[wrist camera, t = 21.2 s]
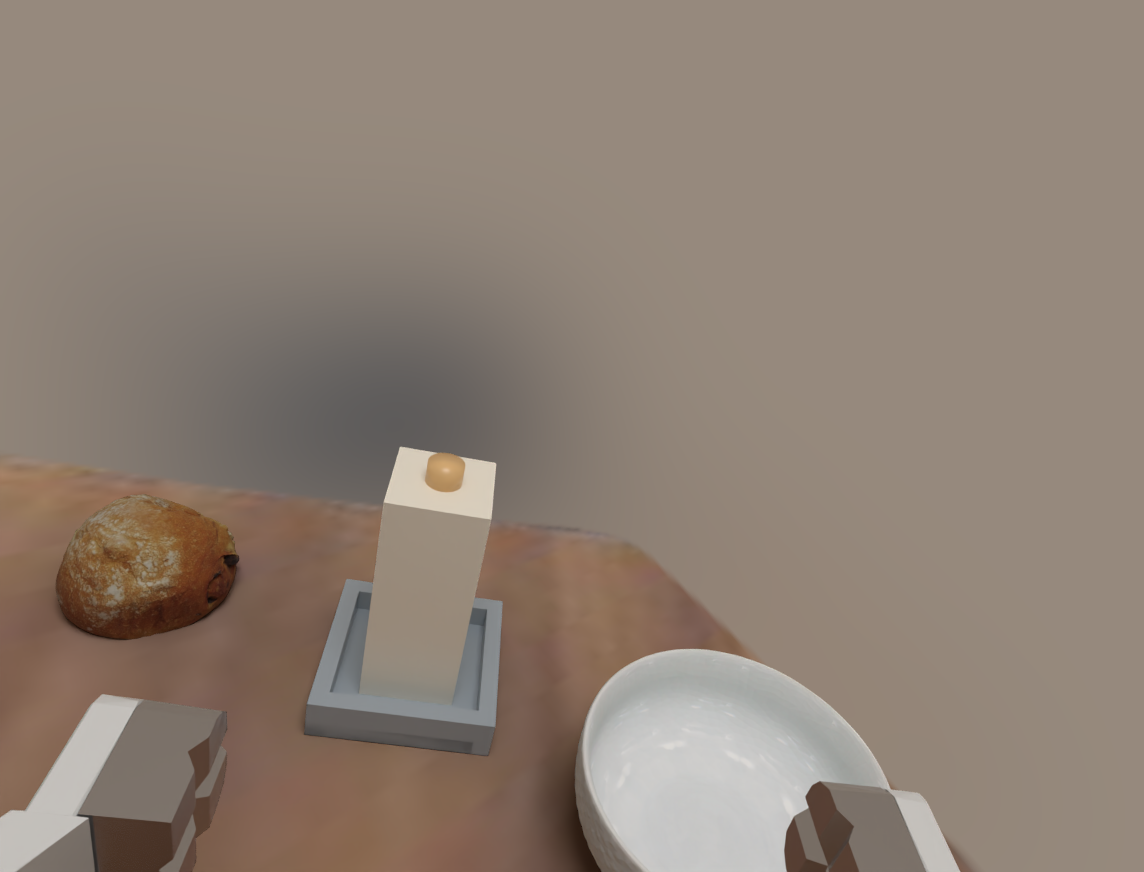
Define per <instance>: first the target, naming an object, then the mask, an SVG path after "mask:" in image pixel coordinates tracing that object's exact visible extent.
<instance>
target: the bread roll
mask: <svg viewBox="0 0 1144 872" xmlns="http://www.w3.org/2000/svg"><path fill="white" fill-rule="evenodd" d="M233 538H234V537H233V536H232V533H231V532H229V531H228V527H227V526H226V525H222V524H221V523H220V522H217V521H215V520H213V519H211V518H207V517H204V516H203V514H201V513H199V512H196V511H195V510H193V509H190V508H189V507H186V506H183V505H180V504H177V503H174V502H172V501H169V500H165V499H162V498H158V497H154V496H149V495H146V494H143V495H131V496H127V497H124V498H121V499H118V500H115V501H113V502H112V503H111V504H110V505H108V506H105V507H104V508H102V509H101V510H99V511H97V512H96V513H94V514H93V515H92V516H90V517H89V518H88V519H87V520H86V521H85V522H84V523H83V525H82V526H81V527H80V528H79V529H77V530H76V531H75V534H74V536H73V539H72V541H71V542H70V544H69V546H68V548H67V550H66V552H65V554H64V558H63V562H62V564H61V566H60V568H59V571H58V575H57V579H56V593H57V597H58V601H59V603H60V606H61V609H62V611H63V613H64V615H65V616H66V617H67V618H68V619H69V620H70V621H71V622H72V623H74V624H75V625H76V626H78V627H79V628H81V629H83V630H85V631H87V632H89V633H92V634H95V635H99V636H104V637H110V638H116V639H137V638H141V637H145V636H151V635H154V634H156V633H157V634H158V633H164V632H167V631H171V630H174V629H178V628H182V627H185V626H188V625H190V624H192V623H194V622H196V621H197V620H199V619H201V618H202V617H204V616H205V615H206V614H208V613H209V612H210V611H212V610H213V609H214V608H216V607H217V606H218V605H219V604H220V603H221V602H222V601H223V600H224V598H225V597H226V596H227V594H228V593H229V590H230V587H231V584H232V582H233V581H234V577H235V573H236V568H235V567H236V564H237V562H238V561H239V556H238V555H237V554H236V552H235V541H232V540H233Z"/></svg>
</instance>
